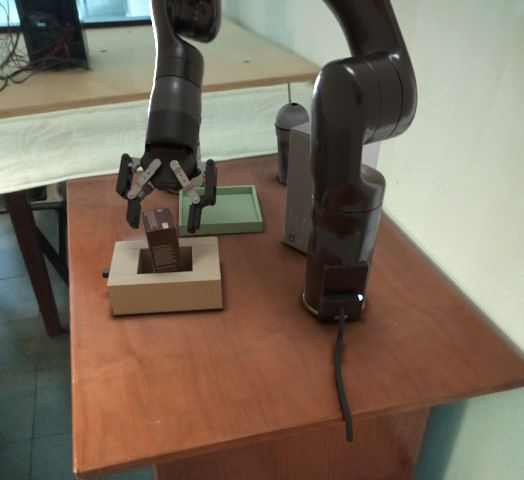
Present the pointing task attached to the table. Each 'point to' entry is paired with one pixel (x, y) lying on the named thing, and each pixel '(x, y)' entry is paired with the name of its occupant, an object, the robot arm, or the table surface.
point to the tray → (224, 211)
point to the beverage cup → (287, 131)
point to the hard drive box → (306, 185)
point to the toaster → (164, 279)
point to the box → (162, 241)
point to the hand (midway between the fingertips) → (162, 230)
